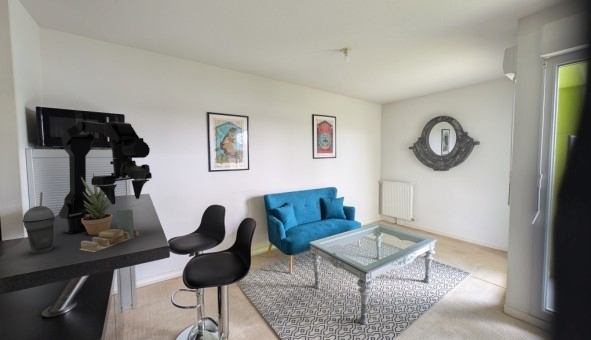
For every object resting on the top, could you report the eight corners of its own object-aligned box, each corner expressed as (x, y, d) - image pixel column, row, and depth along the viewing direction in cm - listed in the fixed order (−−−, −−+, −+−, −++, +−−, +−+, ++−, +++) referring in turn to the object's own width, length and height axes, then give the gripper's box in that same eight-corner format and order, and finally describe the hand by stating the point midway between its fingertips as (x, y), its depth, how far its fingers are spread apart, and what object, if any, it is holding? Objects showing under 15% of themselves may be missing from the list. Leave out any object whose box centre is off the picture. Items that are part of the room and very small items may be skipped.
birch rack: (95, 255, 79) (94, 244, 79) (79, 252, 81) (78, 242, 81) (140, 237, 94) (139, 228, 94) (126, 236, 96) (125, 226, 96)
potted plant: (76, 238, 94) (70, 173, 92) (99, 230, 104) (95, 170, 101) (98, 240, 92) (93, 173, 90) (120, 231, 102) (116, 170, 100)
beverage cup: (35, 251, 83) (28, 191, 81) (63, 248, 85) (57, 189, 83) (20, 260, 76) (13, 195, 74) (51, 256, 79) (44, 193, 77)
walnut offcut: (111, 245, 84) (110, 239, 84) (98, 243, 86) (97, 238, 86) (125, 239, 89) (124, 234, 89) (112, 238, 91) (112, 233, 91)
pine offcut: (112, 239, 85) (111, 234, 85) (99, 238, 86) (98, 233, 86) (123, 234, 89) (123, 229, 89) (110, 233, 90) (110, 229, 90)
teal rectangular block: (130, 237, 91) (128, 210, 90) (118, 236, 93) (116, 209, 92) (134, 236, 92) (132, 209, 92) (122, 234, 94) (120, 208, 93)
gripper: (113, 159, 78) (117, 208, 79) (161, 156, 96) (164, 197, 97) (88, 159, 81) (92, 207, 83) (139, 157, 99) (142, 196, 100)
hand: (126, 201), depth 91 cm, fingers open, 9 cm apart
